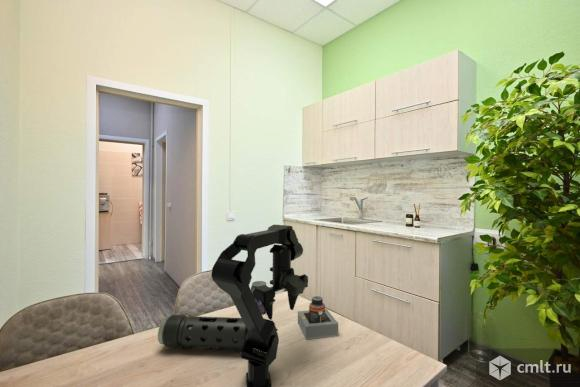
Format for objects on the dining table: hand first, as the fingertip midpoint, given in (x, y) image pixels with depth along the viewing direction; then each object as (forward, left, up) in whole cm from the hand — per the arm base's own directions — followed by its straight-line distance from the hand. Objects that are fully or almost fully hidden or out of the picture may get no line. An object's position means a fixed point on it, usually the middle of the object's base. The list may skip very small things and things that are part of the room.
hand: (281, 314), depth 84 cm
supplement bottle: (+13, -16, -13) cm, 24 cm away
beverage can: (+32, +4, -13) cm, 35 cm away
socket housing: (+13, -16, -13) cm, 24 cm away
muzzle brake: (+9, +24, -13) cm, 29 cm away
